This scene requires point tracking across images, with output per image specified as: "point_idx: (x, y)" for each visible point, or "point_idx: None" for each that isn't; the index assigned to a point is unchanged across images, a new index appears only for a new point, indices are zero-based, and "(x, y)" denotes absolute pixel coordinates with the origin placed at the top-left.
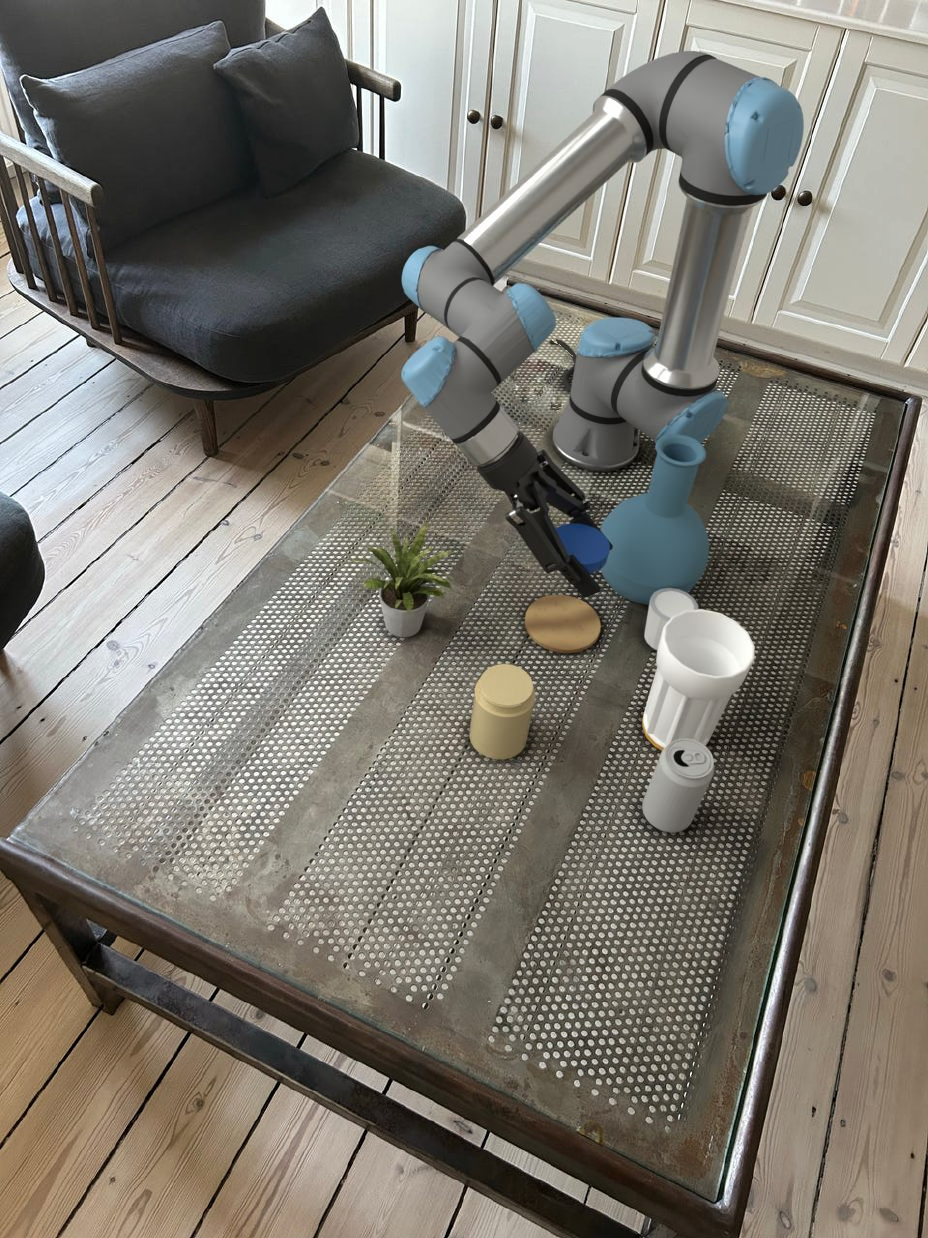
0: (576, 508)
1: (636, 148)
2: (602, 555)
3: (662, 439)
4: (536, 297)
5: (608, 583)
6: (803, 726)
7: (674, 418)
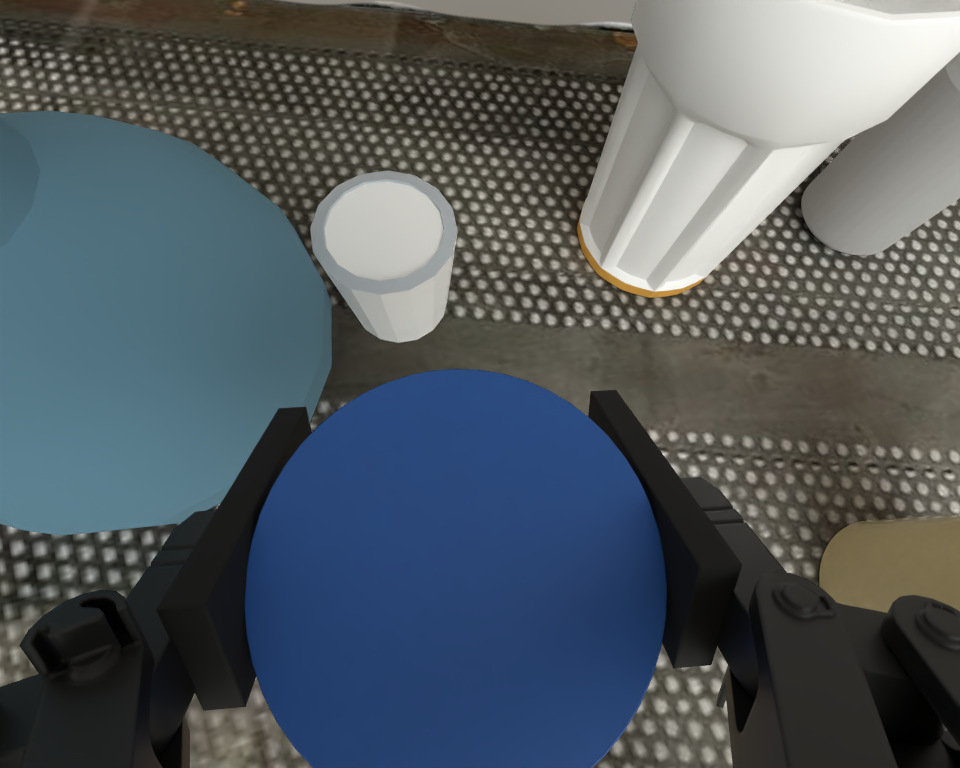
0: (148, 724)
1: None
2: (507, 396)
3: None
4: None
5: None
6: (524, 50)
7: None
